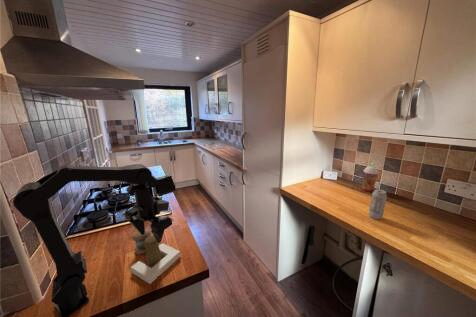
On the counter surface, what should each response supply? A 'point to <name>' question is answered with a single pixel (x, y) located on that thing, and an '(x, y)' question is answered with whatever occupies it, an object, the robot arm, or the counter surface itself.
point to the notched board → (152, 273)
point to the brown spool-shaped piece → (140, 241)
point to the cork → (152, 251)
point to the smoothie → (369, 178)
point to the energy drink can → (377, 204)
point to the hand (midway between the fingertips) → (151, 238)
